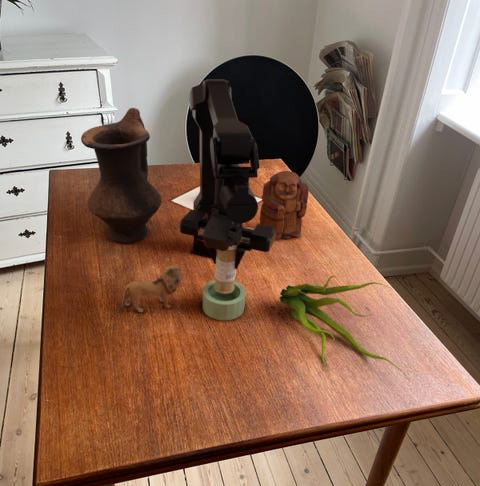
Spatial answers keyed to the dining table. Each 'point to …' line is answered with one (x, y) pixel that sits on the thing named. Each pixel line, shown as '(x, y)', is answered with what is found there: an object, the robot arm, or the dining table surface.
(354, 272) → the dining table surface
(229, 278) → the sprinkles bottle
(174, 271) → the lion figurine
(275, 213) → the wooden figurine
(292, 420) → the dining table surface
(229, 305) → the jar
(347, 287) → the decorative plant
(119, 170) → the jug
